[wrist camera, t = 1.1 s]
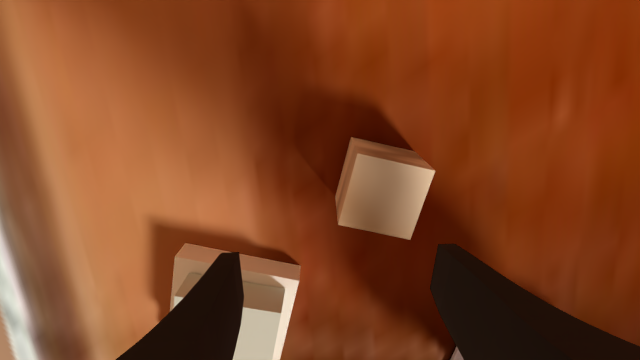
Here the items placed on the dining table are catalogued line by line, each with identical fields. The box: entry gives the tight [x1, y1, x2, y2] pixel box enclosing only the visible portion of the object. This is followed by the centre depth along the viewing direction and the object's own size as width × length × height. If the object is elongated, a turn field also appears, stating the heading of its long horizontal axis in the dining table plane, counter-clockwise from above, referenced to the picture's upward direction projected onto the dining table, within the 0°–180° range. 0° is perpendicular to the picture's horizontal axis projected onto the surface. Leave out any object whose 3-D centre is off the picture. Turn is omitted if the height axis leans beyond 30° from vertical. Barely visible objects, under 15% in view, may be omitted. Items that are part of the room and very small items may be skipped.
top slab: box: [174, 273, 285, 360], centre depth 24 cm, size 7×7×2 cm
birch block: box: [335, 137, 435, 240], centre depth 21 cm, size 4×4×4 cm
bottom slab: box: [170, 243, 301, 360], centre depth 26 cm, size 9×9×2 cm
